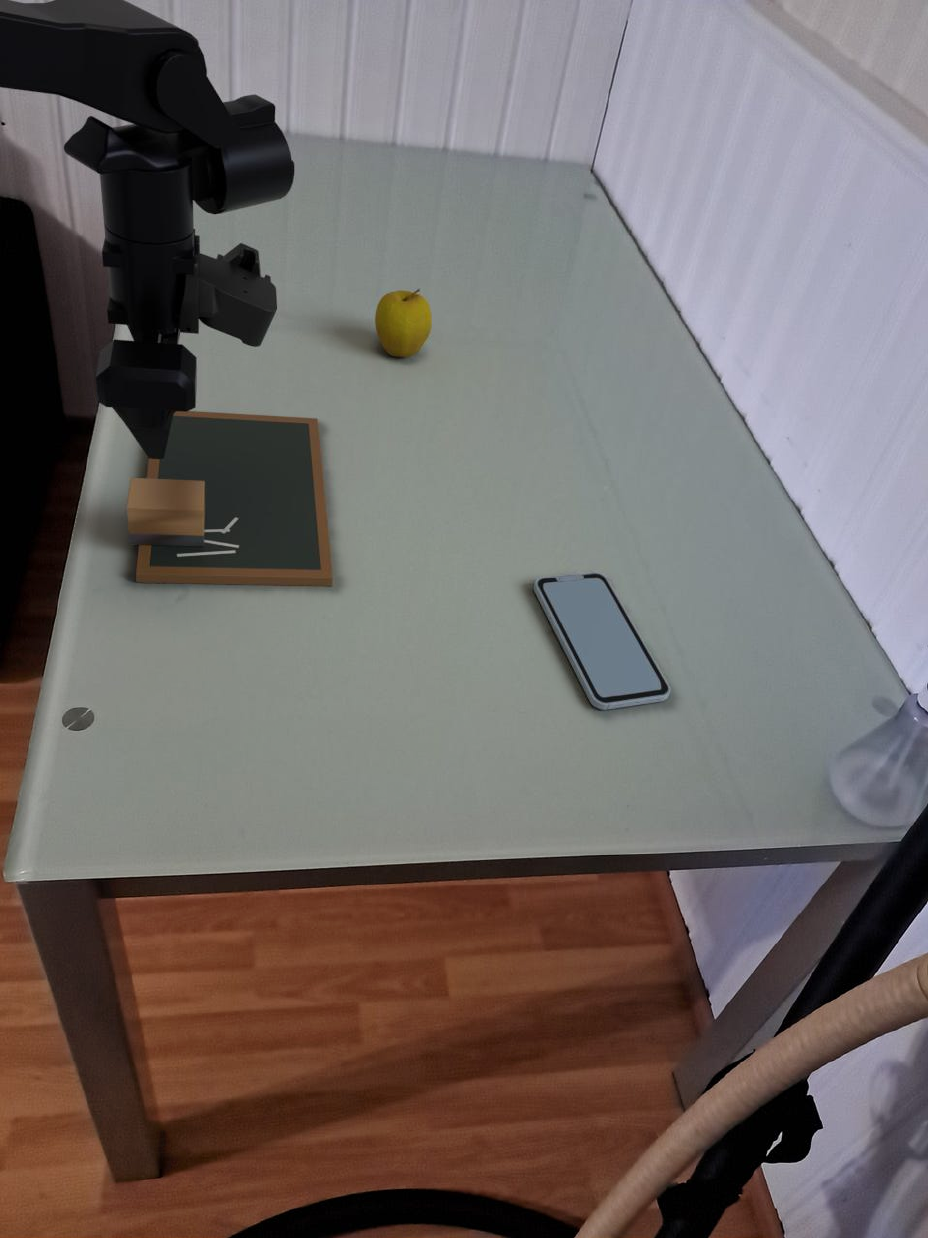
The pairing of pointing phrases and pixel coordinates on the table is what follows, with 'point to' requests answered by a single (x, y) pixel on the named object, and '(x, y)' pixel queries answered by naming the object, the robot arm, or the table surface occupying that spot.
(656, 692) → the smartphone
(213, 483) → the chalkboard
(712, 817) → the table surface
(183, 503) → the eraser
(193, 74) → the robot arm
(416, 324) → the apple
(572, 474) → the table surface
